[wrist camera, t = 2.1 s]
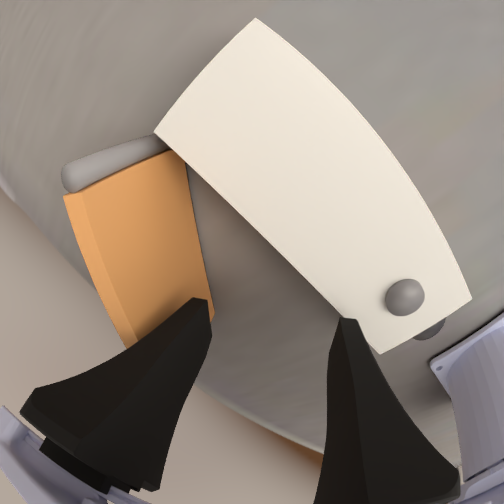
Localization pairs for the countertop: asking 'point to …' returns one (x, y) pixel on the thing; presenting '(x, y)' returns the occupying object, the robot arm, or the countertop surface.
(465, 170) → the countertop surface
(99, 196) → the side door
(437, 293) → the cream tapered panel
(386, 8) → the countertop surface
